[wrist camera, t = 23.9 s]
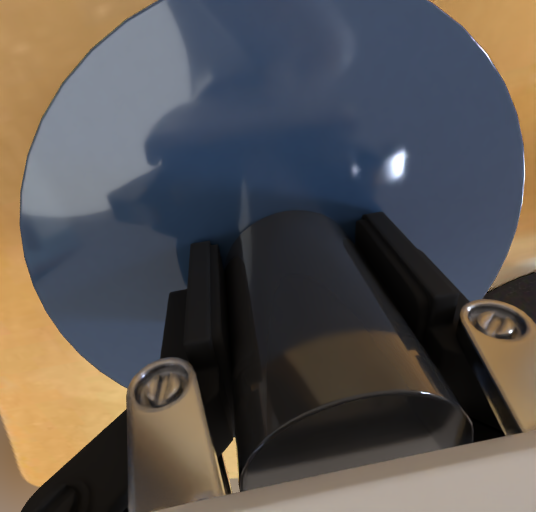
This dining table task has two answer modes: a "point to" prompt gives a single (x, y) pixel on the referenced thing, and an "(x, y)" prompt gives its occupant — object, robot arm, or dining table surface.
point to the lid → (278, 208)
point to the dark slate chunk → (518, 294)
